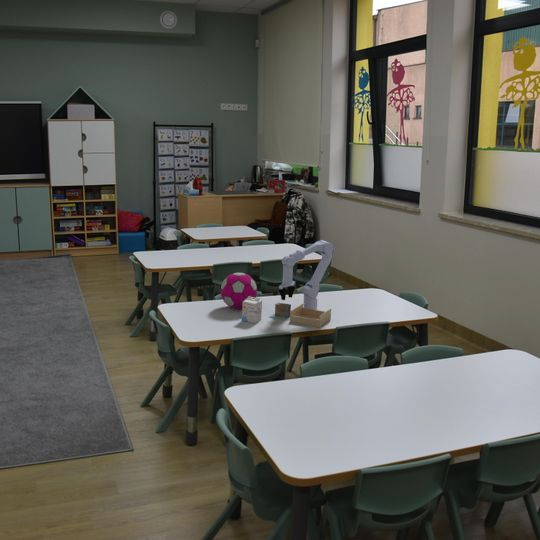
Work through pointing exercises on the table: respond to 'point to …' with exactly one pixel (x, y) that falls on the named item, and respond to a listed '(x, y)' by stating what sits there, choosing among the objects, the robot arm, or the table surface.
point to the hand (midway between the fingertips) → (286, 298)
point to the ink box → (252, 310)
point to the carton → (309, 316)
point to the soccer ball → (238, 289)
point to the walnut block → (282, 310)
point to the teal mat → (278, 317)
